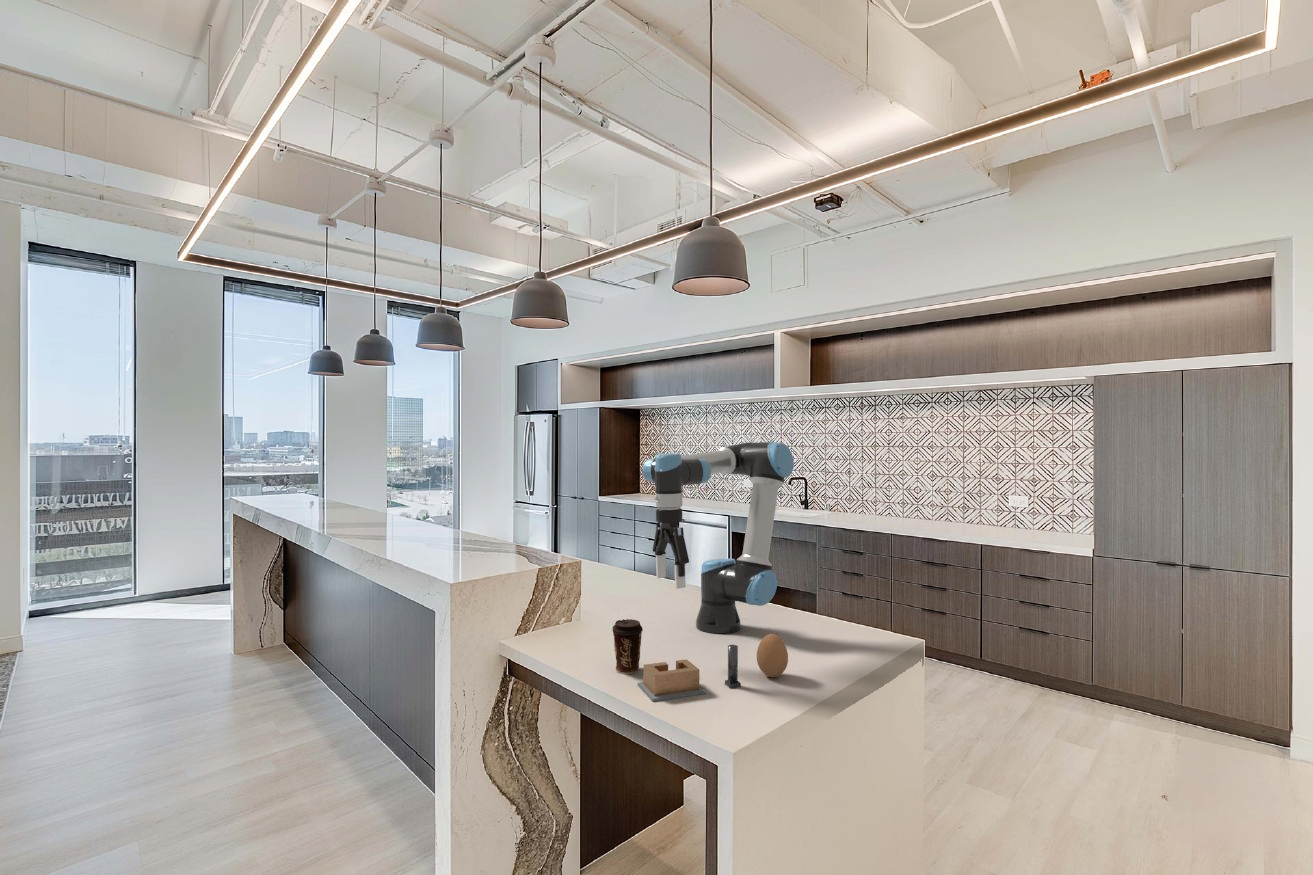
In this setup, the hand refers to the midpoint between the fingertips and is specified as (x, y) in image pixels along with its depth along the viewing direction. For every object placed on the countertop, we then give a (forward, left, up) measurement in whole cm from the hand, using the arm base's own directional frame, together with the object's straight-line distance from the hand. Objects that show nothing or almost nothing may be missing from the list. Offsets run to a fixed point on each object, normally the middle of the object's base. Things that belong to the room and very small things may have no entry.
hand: (670, 582), depth 174 cm
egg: (-22, +19, -23) cm, 37 cm away
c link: (+7, +18, -22) cm, 29 cm away
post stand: (-9, +21, -23) cm, 32 cm away
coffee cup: (+13, +1, -23) cm, 26 cm away
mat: (+7, +18, -23) cm, 30 cm away
